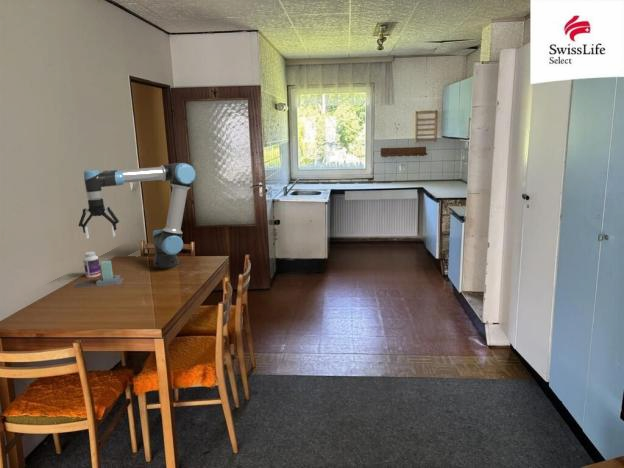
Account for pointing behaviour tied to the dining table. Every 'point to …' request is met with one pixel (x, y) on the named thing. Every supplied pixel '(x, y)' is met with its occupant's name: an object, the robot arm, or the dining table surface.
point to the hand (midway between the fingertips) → (101, 237)
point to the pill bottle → (91, 265)
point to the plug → (107, 270)
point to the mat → (84, 284)
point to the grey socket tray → (109, 281)
